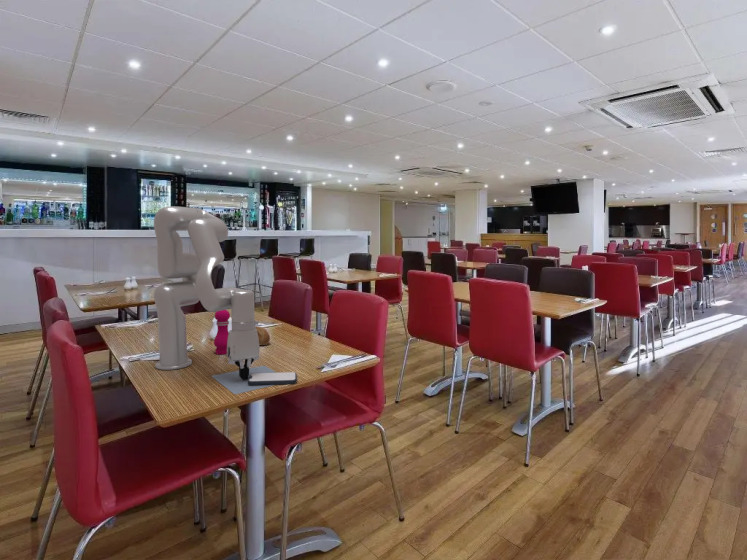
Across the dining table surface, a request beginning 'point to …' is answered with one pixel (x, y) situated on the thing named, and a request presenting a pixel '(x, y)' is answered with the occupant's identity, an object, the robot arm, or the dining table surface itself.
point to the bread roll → (262, 336)
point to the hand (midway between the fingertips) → (244, 378)
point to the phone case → (272, 378)
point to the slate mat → (241, 380)
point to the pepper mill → (221, 332)
